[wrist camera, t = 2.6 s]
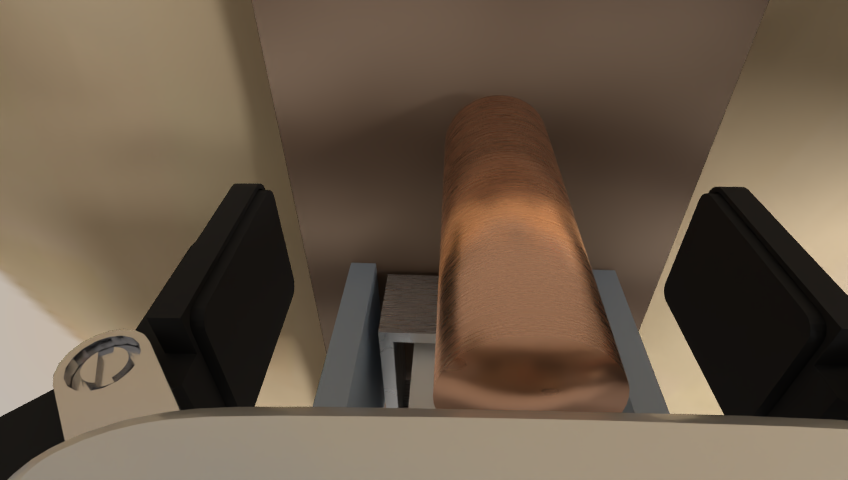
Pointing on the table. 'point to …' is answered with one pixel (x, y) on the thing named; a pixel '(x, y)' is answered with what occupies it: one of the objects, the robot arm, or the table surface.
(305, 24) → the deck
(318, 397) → the tunnel
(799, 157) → the table surface
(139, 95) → the table surface
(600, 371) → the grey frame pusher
